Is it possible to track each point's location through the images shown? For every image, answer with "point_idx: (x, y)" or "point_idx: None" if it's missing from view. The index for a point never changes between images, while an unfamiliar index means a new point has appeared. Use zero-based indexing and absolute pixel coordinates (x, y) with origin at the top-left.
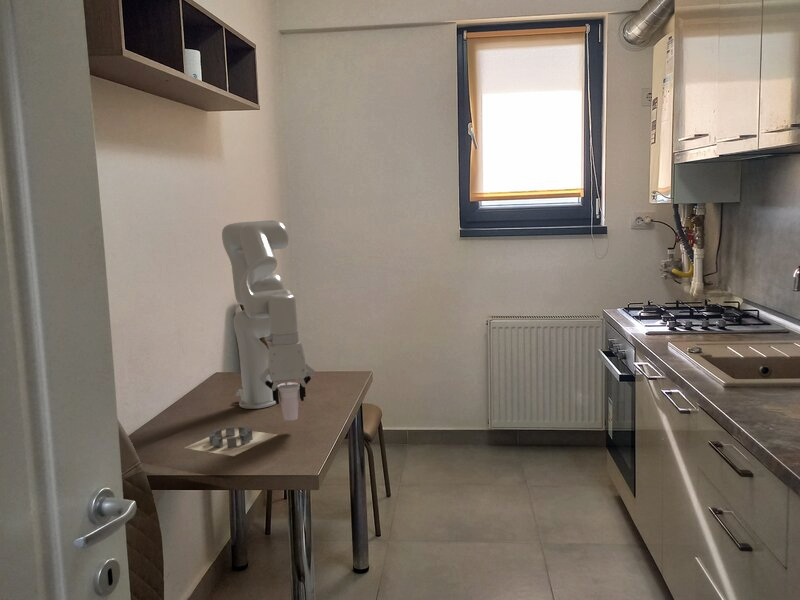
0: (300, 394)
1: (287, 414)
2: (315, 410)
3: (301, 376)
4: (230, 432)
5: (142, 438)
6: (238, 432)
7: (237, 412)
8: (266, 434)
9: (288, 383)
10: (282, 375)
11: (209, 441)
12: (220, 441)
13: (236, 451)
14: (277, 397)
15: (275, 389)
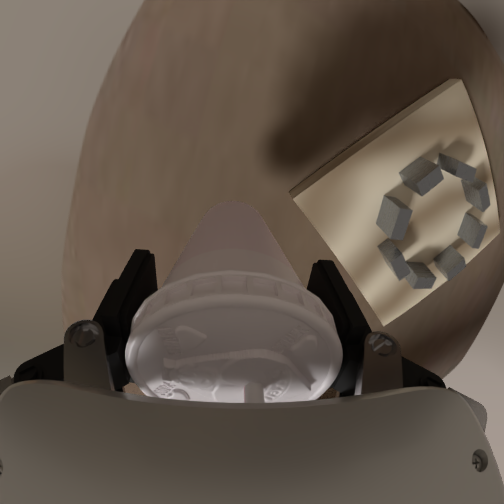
0: (145, 295)
1: (256, 217)
2: None
3: (42, 398)
4: (419, 268)
5: (473, 335)
6: (386, 283)
7: None
8: (328, 222)
9: None
10: (367, 469)
11: (460, 247)
12: (478, 182)
13: (449, 112)
14: (336, 286)
15: (368, 338)
